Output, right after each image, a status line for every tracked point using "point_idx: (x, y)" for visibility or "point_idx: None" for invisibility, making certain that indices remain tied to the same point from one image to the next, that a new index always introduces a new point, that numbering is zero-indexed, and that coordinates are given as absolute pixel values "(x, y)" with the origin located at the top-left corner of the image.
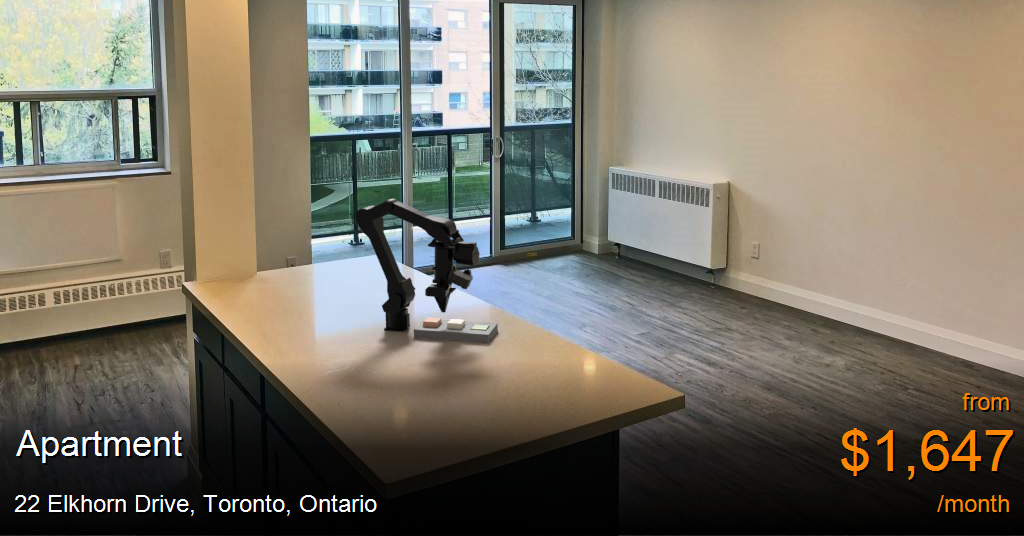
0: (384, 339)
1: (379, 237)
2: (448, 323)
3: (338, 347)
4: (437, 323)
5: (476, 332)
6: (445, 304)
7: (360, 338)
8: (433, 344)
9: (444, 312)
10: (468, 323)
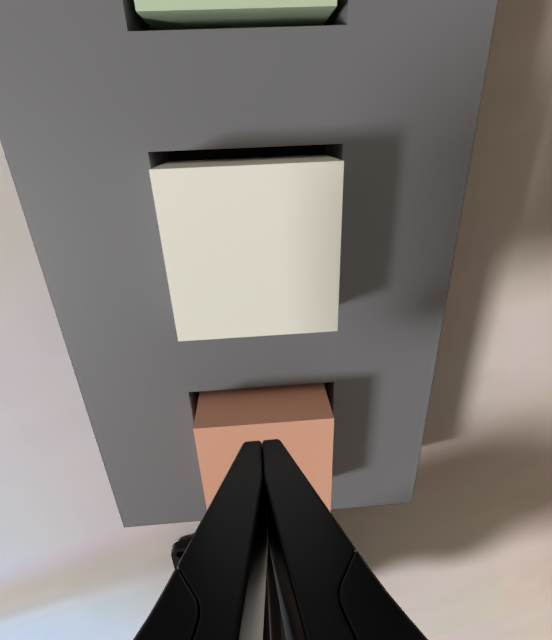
0: (430, 552)
1: None
2: (336, 314)
3: (549, 631)
4: (318, 409)
5: None
6: (344, 533)
7: (425, 620)
8: (515, 308)
9: (278, 441)
10: (102, 135)
